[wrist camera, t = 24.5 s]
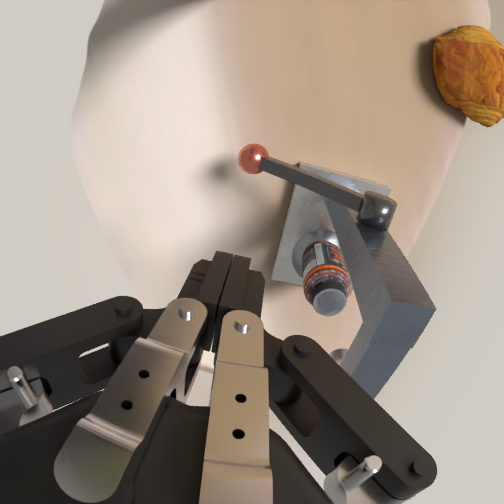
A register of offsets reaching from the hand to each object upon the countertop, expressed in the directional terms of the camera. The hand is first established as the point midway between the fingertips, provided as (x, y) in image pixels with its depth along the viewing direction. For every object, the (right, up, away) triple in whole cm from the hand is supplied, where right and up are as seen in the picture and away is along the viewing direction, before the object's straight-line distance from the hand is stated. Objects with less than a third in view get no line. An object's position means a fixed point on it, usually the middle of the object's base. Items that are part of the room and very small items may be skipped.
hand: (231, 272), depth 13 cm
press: (+12, +4, +32) cm, 34 cm away
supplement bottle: (+11, 0, +32) cm, 33 cm away
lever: (+8, +9, +19) cm, 22 cm away
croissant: (+32, +27, +18) cm, 46 cm away
